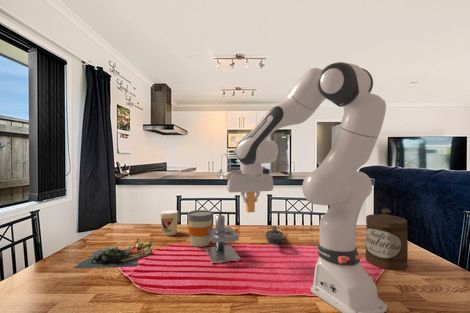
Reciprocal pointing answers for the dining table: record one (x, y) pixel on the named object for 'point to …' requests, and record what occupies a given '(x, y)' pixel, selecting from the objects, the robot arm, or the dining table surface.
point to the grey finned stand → (222, 242)
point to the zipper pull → (275, 236)
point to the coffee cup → (169, 222)
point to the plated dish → (117, 256)
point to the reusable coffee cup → (199, 227)
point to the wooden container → (386, 240)
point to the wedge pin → (250, 202)
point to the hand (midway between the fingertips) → (250, 202)
